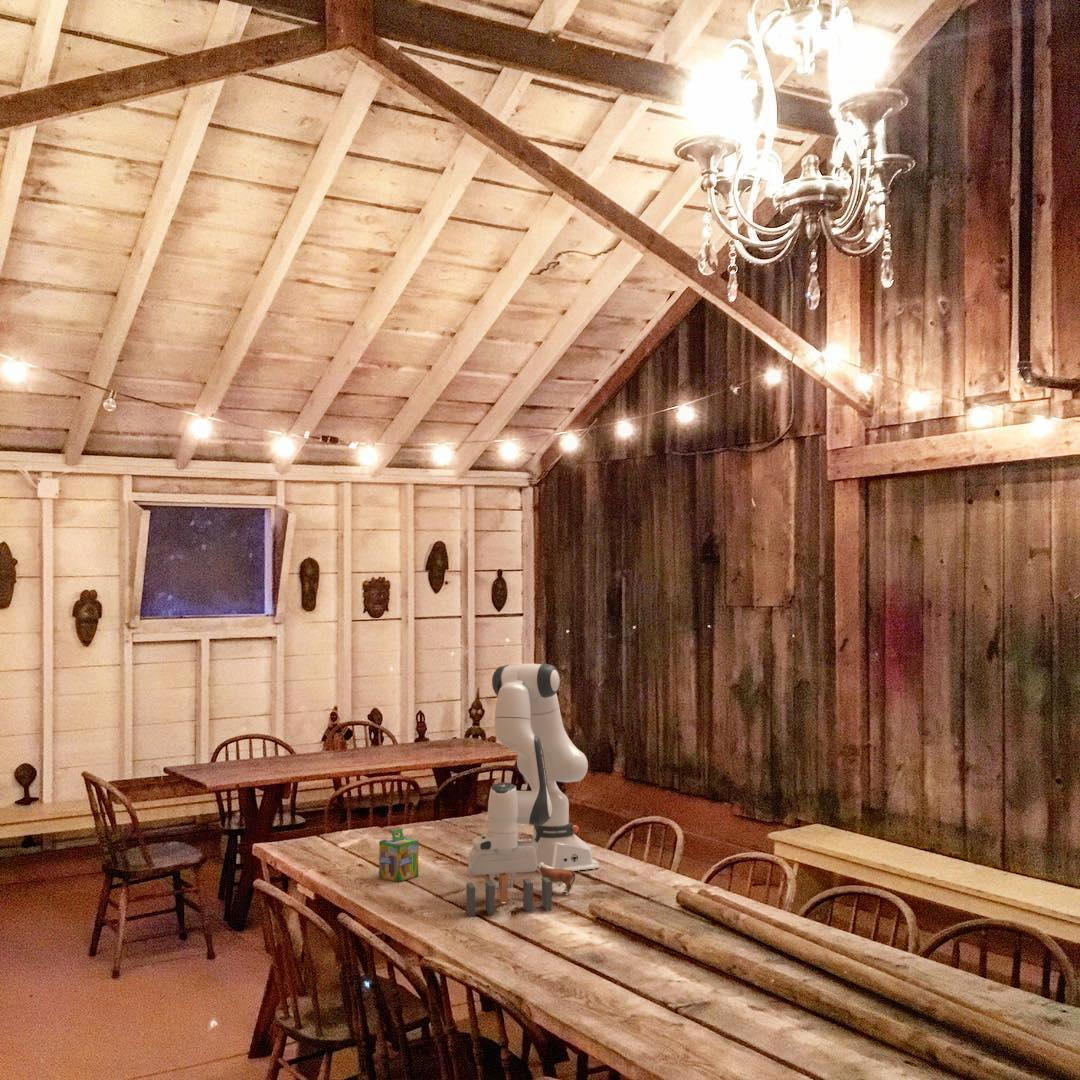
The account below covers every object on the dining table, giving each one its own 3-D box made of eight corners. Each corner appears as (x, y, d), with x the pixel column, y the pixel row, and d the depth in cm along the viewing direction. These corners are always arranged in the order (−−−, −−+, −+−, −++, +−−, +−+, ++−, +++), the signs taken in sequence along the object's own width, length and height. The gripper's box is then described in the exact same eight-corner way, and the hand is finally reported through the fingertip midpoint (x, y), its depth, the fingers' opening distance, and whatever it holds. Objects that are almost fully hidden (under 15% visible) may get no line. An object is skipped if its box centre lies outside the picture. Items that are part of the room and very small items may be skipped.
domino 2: (490, 909, 308) (491, 881, 308) (494, 914, 303) (494, 885, 303) (485, 910, 307) (485, 881, 308) (489, 915, 303) (489, 886, 303)
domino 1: (471, 911, 306) (472, 882, 307) (475, 916, 302) (475, 887, 302) (466, 911, 306) (466, 883, 306) (469, 916, 301) (469, 887, 301)
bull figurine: (538, 887, 331) (538, 860, 331) (577, 893, 324) (577, 866, 324) (531, 890, 327) (531, 863, 327) (570, 897, 320) (570, 869, 320)
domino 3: (503, 898, 319) (503, 870, 319) (507, 903, 314) (507, 875, 314) (498, 898, 318) (498, 871, 319) (502, 903, 314) (502, 875, 314)
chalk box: (398, 883, 335) (399, 834, 336) (377, 878, 341) (378, 830, 341) (419, 876, 342) (419, 829, 343) (398, 872, 348) (399, 825, 348)
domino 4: (528, 906, 310) (528, 878, 311) (532, 911, 306) (532, 883, 306) (523, 907, 310) (523, 879, 310) (527, 912, 305) (527, 883, 306)
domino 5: (547, 905, 312) (547, 877, 312) (551, 910, 307) (551, 881, 308) (541, 905, 311) (541, 877, 312) (546, 910, 307) (546, 882, 307)
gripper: (534, 835, 323) (534, 882, 322) (467, 839, 317) (466, 887, 317) (540, 840, 317) (540, 888, 316) (471, 844, 311) (471, 893, 311)
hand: (502, 888), depth 316 cm, fingers open, 3 cm apart
